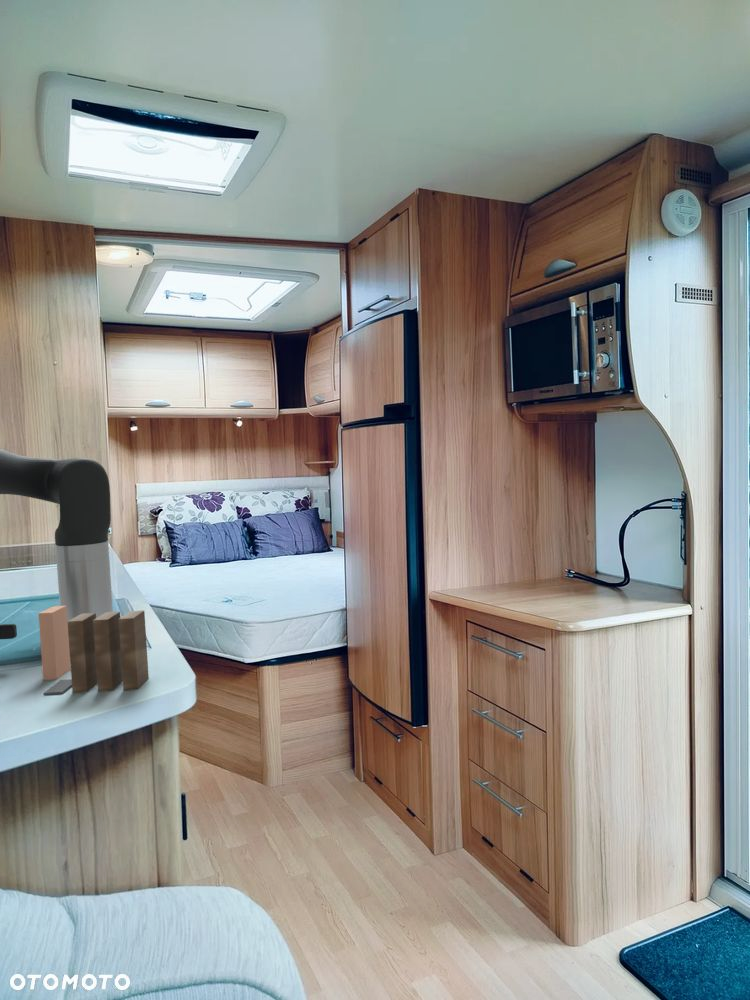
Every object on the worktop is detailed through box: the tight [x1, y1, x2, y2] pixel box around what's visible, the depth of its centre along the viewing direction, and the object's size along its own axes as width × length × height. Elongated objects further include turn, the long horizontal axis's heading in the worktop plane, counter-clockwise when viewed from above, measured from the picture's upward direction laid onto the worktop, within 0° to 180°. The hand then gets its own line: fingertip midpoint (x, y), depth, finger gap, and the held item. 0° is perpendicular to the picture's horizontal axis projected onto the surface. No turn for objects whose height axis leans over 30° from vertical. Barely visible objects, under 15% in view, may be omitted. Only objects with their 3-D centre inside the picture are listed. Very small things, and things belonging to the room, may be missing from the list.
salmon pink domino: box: [38, 605, 71, 681], centre depth 104 cm, size 2×5×10 cm, turn 2°
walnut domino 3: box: [119, 609, 150, 691], centre depth 97 cm, size 2×5×10 cm, turn 2°
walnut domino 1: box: [68, 613, 98, 694], centre depth 97 cm, size 2×5×10 cm, turn 2°
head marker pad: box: [43, 678, 72, 696], centre depth 97 cm, size 3×6×1 cm, turn 2°
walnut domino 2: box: [93, 611, 123, 692], centre depth 97 cm, size 2×5×10 cm, turn 2°
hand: (1, 638), depth 103 cm, fingers open, 8 cm apart
